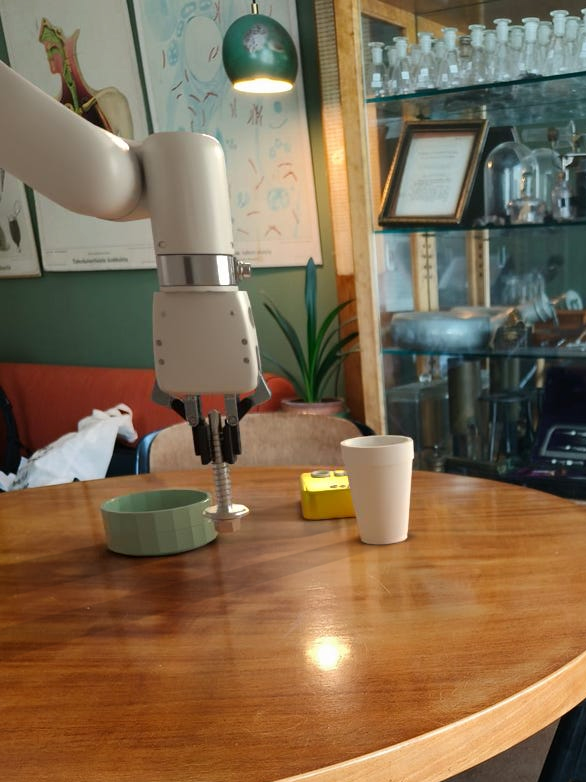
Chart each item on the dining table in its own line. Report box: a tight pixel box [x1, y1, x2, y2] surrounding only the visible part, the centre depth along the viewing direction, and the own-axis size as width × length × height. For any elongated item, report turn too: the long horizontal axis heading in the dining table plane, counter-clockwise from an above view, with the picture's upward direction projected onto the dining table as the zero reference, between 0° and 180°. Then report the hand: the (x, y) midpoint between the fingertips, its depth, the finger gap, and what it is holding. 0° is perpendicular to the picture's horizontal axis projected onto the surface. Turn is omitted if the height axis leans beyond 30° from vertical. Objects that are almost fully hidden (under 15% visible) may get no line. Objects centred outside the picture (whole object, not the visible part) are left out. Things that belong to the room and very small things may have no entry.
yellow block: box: [298, 469, 356, 521], centre depth 137 cm, size 15×15×5 cm
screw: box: [203, 408, 250, 534], centre depth 95 cm, size 13×5×5 cm
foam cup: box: [340, 434, 415, 545], centre depth 117 cm, size 10×9×13 cm
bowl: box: [99, 488, 219, 557], centre depth 120 cm, size 14×14×6 cm
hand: (219, 461), depth 94 cm, fingers closed on screw, 2 cm apart
